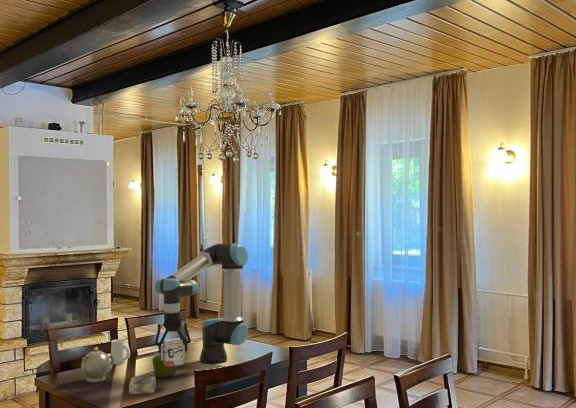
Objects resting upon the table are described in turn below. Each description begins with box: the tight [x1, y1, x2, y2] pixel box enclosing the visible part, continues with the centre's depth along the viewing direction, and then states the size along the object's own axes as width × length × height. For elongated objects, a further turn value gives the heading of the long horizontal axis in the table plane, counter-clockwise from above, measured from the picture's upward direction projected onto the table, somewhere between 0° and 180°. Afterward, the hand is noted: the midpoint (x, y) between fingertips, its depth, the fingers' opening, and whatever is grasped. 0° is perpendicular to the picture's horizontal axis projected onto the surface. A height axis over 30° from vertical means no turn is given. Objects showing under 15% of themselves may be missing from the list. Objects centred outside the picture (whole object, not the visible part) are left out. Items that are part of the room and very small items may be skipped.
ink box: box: [162, 337, 184, 367], centre depth 271 cm, size 8×5×12 cm, turn 124°
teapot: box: [80, 346, 115, 384], centre depth 281 cm, size 18×14×16 cm
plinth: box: [128, 375, 157, 395], centre depth 265 cm, size 11×13×4 cm
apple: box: [152, 353, 178, 379], centre depth 287 cm, size 12×12×11 cm
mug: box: [110, 338, 131, 365], centre depth 315 cm, size 8×12×12 cm
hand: (173, 359), depth 271 cm, fingers closed on ink box, 9 cm apart
